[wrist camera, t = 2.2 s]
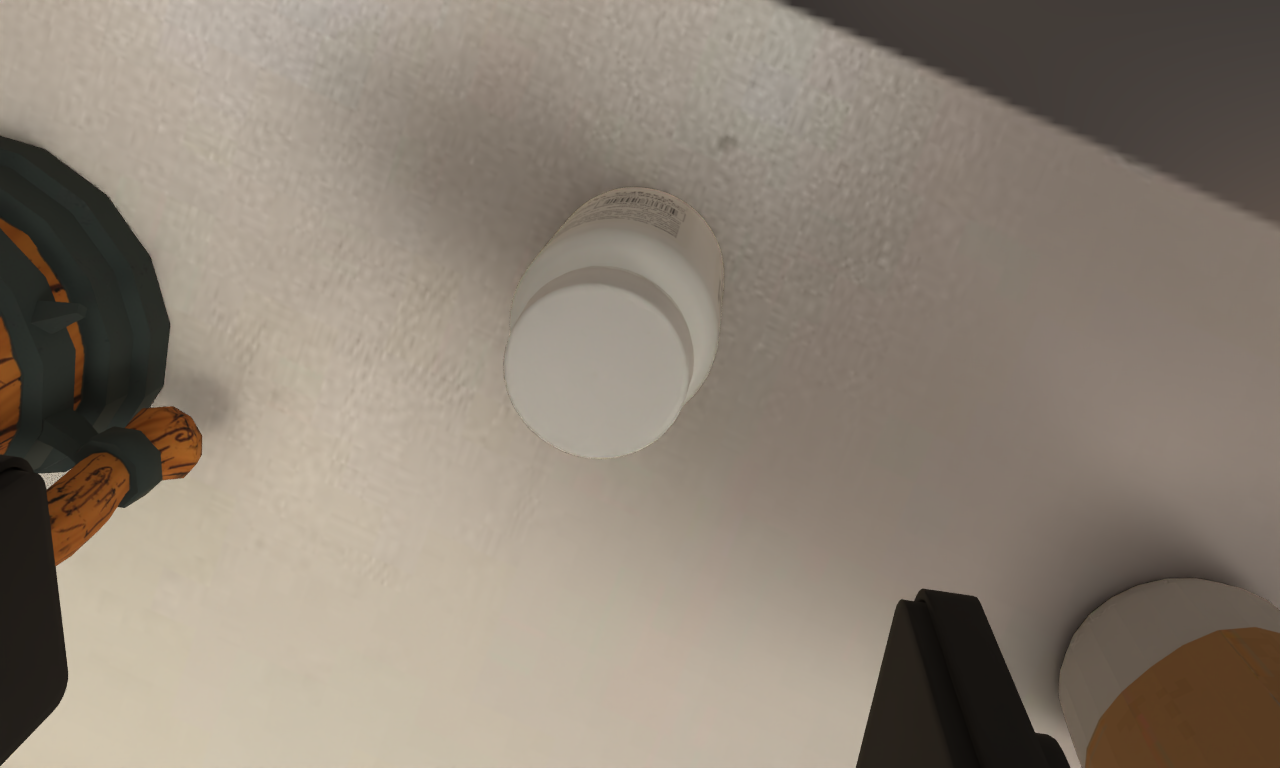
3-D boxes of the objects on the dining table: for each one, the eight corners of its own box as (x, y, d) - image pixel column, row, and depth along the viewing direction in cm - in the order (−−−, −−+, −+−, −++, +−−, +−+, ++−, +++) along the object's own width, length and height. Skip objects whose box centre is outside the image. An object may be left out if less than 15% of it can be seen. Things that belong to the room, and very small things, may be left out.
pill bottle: (519, 246, 25) (427, 341, 18) (660, 149, 24) (624, 209, 17) (616, 382, 26) (567, 523, 19) (757, 296, 25) (762, 411, 18)
